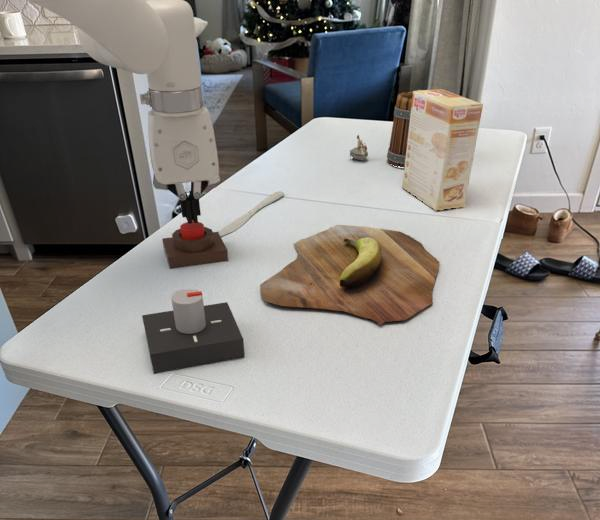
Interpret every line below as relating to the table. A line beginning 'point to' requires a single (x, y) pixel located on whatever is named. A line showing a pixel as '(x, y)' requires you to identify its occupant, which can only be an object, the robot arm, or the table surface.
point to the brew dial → (188, 311)
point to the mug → (400, 130)
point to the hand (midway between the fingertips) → (191, 220)
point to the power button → (192, 230)
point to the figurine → (359, 151)
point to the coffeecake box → (441, 147)
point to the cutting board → (357, 274)
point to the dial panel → (193, 339)
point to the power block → (194, 249)
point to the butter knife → (249, 214)
